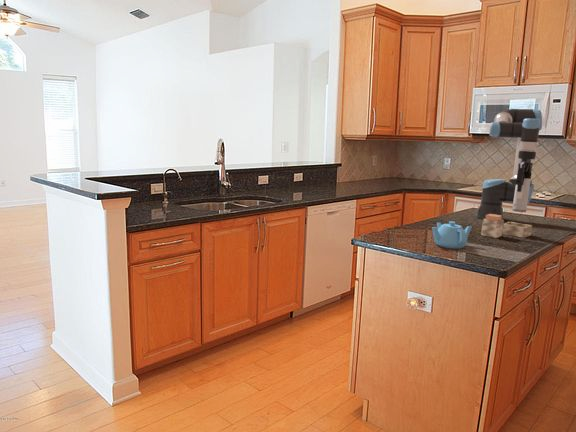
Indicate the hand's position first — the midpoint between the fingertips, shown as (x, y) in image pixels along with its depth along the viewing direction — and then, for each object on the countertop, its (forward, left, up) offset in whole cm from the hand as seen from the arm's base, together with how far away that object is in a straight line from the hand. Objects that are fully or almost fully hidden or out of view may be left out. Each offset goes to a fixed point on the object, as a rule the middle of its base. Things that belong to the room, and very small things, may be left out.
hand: (521, 197), depth 231 cm
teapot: (-12, -49, -19) cm, 54 cm away
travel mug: (0, 0, -7) cm, 7 cm away
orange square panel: (-7, -13, -12) cm, 19 cm away
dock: (-3, -6, -19) cm, 20 cm away
